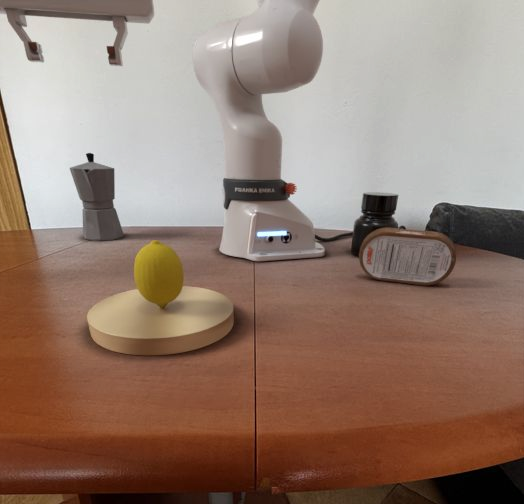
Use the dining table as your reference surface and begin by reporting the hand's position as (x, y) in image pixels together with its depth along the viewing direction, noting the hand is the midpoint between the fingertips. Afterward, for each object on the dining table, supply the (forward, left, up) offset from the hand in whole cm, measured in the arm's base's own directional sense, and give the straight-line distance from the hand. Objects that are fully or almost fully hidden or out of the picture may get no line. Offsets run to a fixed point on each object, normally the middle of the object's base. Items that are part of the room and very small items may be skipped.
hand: (76, 63), depth 47 cm
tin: (-47, +5, -29) cm, 55 cm away
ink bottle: (-50, -14, -29) cm, 59 cm away
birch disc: (-9, +18, -28) cm, 35 cm away
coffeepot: (+9, -38, -29) cm, 48 cm away
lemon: (-9, +18, -27) cm, 33 cm away
